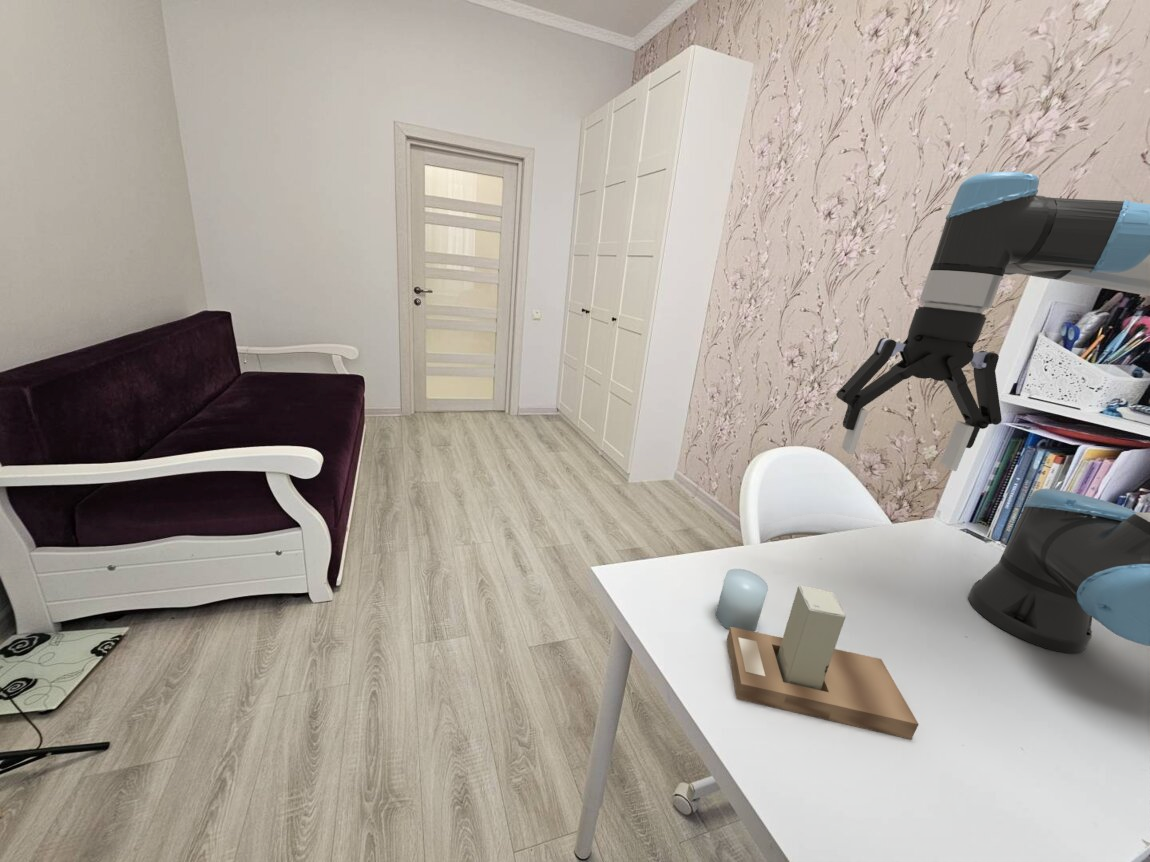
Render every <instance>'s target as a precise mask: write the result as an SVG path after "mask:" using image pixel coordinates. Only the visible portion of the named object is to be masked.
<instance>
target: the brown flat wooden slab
mask: <svg viewBox="0 0 1150 862" xmlns="http://www.w3.org/2000/svg"><path fill="white" fill-rule="evenodd" d="M782 639H783V637H782V636H781V637H780V636H775V635H771V634H766V633H762V632H759V631H758V632H756V631H754V632H753V631H748V630H744V629H739V628H734V627H730V629H729V630H728V633H727V637H726V645H727V646H726V647H727V650H728V651H727V652H728V655H729V663H730V667H731V674H732V679H733V683H734V684H733V685H734V691H735V696H736V699H737V700H741V701H745V702H750V703H754V704H758V705H763V706H767V707H771V708H776V709H779V710H784V711H788V712H792V713H797V714H801V715H805V716H810V717H813V718H818V719H822V720H827V721H831V722H835V723H841V724H844V725H848V726H852V727H857V728H861V729H867V730H870V731H875V732H877V733H878V732H879V733H883V734H887V735H892V736H896V737H901V738H904V739H908V740H913V737H914V735H915V733H916V731H917V728H918V727H919V726H920V725H919V723H918V720H917V719H916V717H915V715H914V714H913V711H912V710H911V708H910V707H909V704H908V703H907V701H906V700H905V698H904V696H903V694H902V693H901V691H900V689H899V687H898V685H897V684H896V682H895V680H894V679H893V677H892V675H891V673H890V672H889V670H888V668H887V666H886V665H885V663H884V661H883V659H882V658H878V657H875V656H870V655H865V654H860V653H855V652H851V651H846V650H842V649H836V648H835V649H834V652H833V655H832V658H831V661H830V664H829V667H828V670H827V673H826V676H825V679H824V682H823V685H822V688H821V690H816V689H812V688H807V687H803V686H798V685H794V684H790V683H785V682H783V680H782V677H781V673H780V670H779V666H778V663H777V660H776V659H777V656H778V653H779V649H780V646H781V642H782Z"/></svg>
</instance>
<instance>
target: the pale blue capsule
mask: <svg viewBox="0 0 1150 862" xmlns="http://www.w3.org/2000/svg"><path fill="white" fill-rule="evenodd" d="M768 591H769V585H768V582H767V581H766V580H765V579H764V578H763V577H762V576H760V575H758V574H757V573H755V572H753V571H751V570H747V569H744V568H731V569H729V570H727V572H726V573H725V577H724V579H723V584H722V588H721V591H720V595H719V600H718V603H717V605H716V606H717V607H716V610H715V618H716V620H717V622H719V624H720V625H721V626H722V627H724V628H725V629H727V630H728V631H729V629H730V627H734V628H739V629H744V630H748V631H753V632H756V630H757V627H758V624H759V620H760V617H761V614H762V610H763V607H764V604H765V602H766V601H765V600H766V598H767V595H768Z"/></svg>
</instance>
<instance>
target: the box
mask: <svg viewBox="0 0 1150 862" xmlns="http://www.w3.org/2000/svg"><path fill="white" fill-rule="evenodd" d="M793 599H794V600H793V603H792V606H791V609H790V612H789V616H788V619H787V622H786V625H785V629H784V633H783V636H782V638H783V639H782V642H781V646H780V649H779V653H778V656H777V659H776V660H777V663H778V666H779V670H780V673H781V677H782V680H783V682H785V683H790V684H794V685H798V686H803V687H807V688H812V689H816V690H821V688H822V685H823V682H824V679H825V676H826V673H827V670H828V667H829V664H830V661H831V658H832V655H833V652H834V649H836V646H837V644H838V641H839V638H840V635H841V631H842V628H843V626H844V622H845V620H846V613H845V612H844V610H843V608H842V606H841V603H839V600H838V599H837V597H836V595H835V594H834V592H833V591H831V590H829V591H828V590H824V589H819V588H814V587H809V586H805V585H800V584H799V585H798V586H797V590H796V592H795V595H794V598H793Z"/></svg>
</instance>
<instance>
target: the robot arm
mask: <svg viewBox="0 0 1150 862" xmlns="http://www.w3.org/2000/svg"><path fill="white" fill-rule="evenodd" d="M1039 184H1040V178H1039V177H1038V176H1037V175H1035V174H1033V173H1024V172H1023V171H1022V172H1021V171H993V172H984V173H979V174H975V175H973V176H970V177H969V178H967V179H965V180H964V181H963V182H962V183H961V184H960V185H959V187H958V190H957V192H956V194H955V196H954V199H953V201H952V204H951V206H950V209H949V211H948V213H947V214H946V217H945V223H944V226H943V229H942V231H941V235H940V239H939V241H938V243H937V248H936V251H935V254H934V257H933V261H932V264H931V266H930V270H929V271H928V274H927V276H926V280H925V282H924V286H923V287H922V292H921V294H920V297H919V301H920V302H921V303H923V304H922V306H918V307H917V308H915V312H914V314H913V318H912V320H911V323H910V326H909V328H908V332H907V337H906V339H905V340H904V341H903V342H898V341H896V340H894V339H891V338H888V337H882V338H880V339H879V341H878V343H877V345H876V347H875V349H874V351H873V353H872V354H871V355H870V356H869V358H867V359H866V361H864V362H863V364H862V365H861V366H860V367H859V368H858V369H857V370H856V371H855V372H854V374H853V375H852V376H851V377H850V378H849V379H848V380H847V381H846V382H845V383H844V385H842V387H841V388H840V389H839V390H838V391H837V392H836V394H835V395H836V397H837V399H839V400H840V401H842V402H843V403H844V404H847V408H846V411H845V413H844V417H843V420H842V427H843V428H844V429H846V432H845V435H844V438H843V441H842V445H841V449H843V450H844V452H846V453H847V454H848V455H855V452H856V450H857V449H856V448H857V446H858V443H859V439H860V437H861V434H862V430H863V427H864V425H865V421H866V418H867V415H868V412H869V410H866V409H865V408H864V407H865V406H867V405H868V404H870V403H871V402H873V401H875V400H876V399H877V398H879V397H881V395H883V394H885V393H886V392H888V391H889V390H891V389H892V388H894V387H895V386H896V385H898V384H899V383H901V382H903V381H905V380H907V379H910V378H911V377H915V378H918V379H923V380H925V379H931V380H934V381H937V382H944V383H945V384H946V386H947V388H948V389H949V391H950V393H951V395H952V397H953V399H954V401H955V403H956V406H957V407H958V409H959V412H960V413H961V416H962V418H963V420H964V421H962V420H956V421H955V423H954V427H953V429H952V431H951V435H950V437H949V440H948V442H947V444H946V447H945V449H944V452H943V454H942V457H941V460H940V462H939V464H940V465H942V466H943V467H945V468H946V469H948V470H949V471H953V472H957V470H958V468H959V465H960V463H961V460H962V458H963V456H964V453H965V451H966V449H971V448H972V447H973V446H974V443H975V441H976V439H977V436H978V434H979V432H980V429H982V430H984V429H987V428H988V427H989V425H995V426H996V425H999V424H1001V423H1002V412H1001V411H1002V410H1001V405H1000V396H999V390H998V389H999V388H998V381H997V376H996V369H997V365H998V362H999V358H1000V356H999V354H997V353H994V352H990V351H987V350H980V351H977V352H976V351H974V346H975V344H976V343H977V342H978V340H979V338H980V336H981V333H982V330H983V328H984V325H985V323H986V320H987V316H986V314H983V313H984V310H989V309H991V308H992V306H993V303H994V300H995V298H996V295H997V291H998V290H999V287H1000V283H1001V281H1002V278H1003V276H1004V275H1010V276H1011V275H1017V274H1018V275H1025V276H1030V277H1035V278H1043V279H1049V280H1056V281H1063V282H1068V283H1074V284H1080V285H1083V286H1091V287H1097V288H1101V289H1102V288H1103V289H1108V290H1112V291H1113V290H1114V291H1120V292H1125V293H1130V294H1137V295H1141V296H1142V295H1143V296H1146V297H1147V296H1149V297H1150V203H1144V202H1135V201H1129V199H1123V200H1104V199H1085V198H1082V199H1081V198H1067V197H1066V198H1065V197H1064V198H1062V197H1060V198H1059V197H1049V196H1048V197H1047V196H1045V195H1038V193H1039V192H1038V191H1039V190H1038V188H1039ZM898 353H899V354H900V357H901V360H900V361H898V362H897V363H895V364H894V365H892V366H891V367H890V369H889V370H887V371H886V372H885V373H883V374H882V375H881V376H879V377H878V378H876V379H875V380H874V381H872V382H871V383H869V382H870V381H871V380H872V378H873V377H875V376H876V375H877V373H879V371H880V370H881V369H882V368H883V367H884V366H885V365H886V363H888V362H889V360H890V359H891V358H892V357H894V356H895V355H897V354H898ZM968 364H970V365H971V367H972V368H973V370H972V371H973V378H974V385H975V391H976V392H975V393H976V397H977V401H976V400H975V398H974V395H973V394H972V391H971V389H970V387H969V386H968V384H967V383H968V379H967V377H966V375H965V373H964V371H963V369H964V367H966V366H967V365H968ZM868 383H869V384H868ZM867 384H868V385H867ZM968 600H969V601H968V602H969V603H970V605H971V606H972V607H973V608H974V609H975V611H977V612H978V613H979V614H980V615H981V616H982V617H984V618H985V619H986V620H987V621H989V622H990V623H992V624H993V625H995V626H996V627H997V628H1000V629H1001V630H1003V631H1005V632H1007V633H1008V634H1011V635H1013V636H1014V637H1016V638H1019V639H1020V640H1023V641H1026V642H1027V643H1031V644H1033V645H1036V646H1038V647H1042V648H1044V649H1048V650H1051V651H1056V652H1060V653H1065V654H1066V653H1069V654H1076V653H1077V654H1078V653H1081V652H1084V651H1085V650H1086V649H1087V646H1088V645H1089V643H1090V641H1091V639H1092V634H1093V631H1092V629H1091V628H1092V623H1093V619H1094V620H1096V622H1098V623H1100V624H1101V625H1102V626H1103V627H1105V628H1106V629H1107V630H1109V631H1110V632H1111V633H1112V634H1114V635H1117V636H1118V637H1121V638H1123V639H1124V640H1127V641H1130V642H1133V643H1136V644H1139V645H1143V646H1148V647H1150V512H1139V511H1138V512H1136V511H1135V510H1133V509H1131V508H1129V507H1126V506H1122V505H1120V504H1116V503H1114V502H1110V501H1106V500H1103V499H1099V498H1095V497H1092V496H1088V495H1084V494H1079V493H1076V492H1075V493H1074V492H1072V491H1071V492H1069V491H1066V490H1062V489H1061V490H1059V489H1053V488H1041V489H1037V490H1035V491H1033V492H1032V494H1031V496H1030V497H1029V498H1028V500H1027V501H1026V502H1025V504H1024V505H1023V510H1022V512H1021V513H1020V516H1019V519H1018V521H1017V522H1016V525H1015V527H1014V529H1013V531H1012V533H1011V535H1010V538H1009V540H1008V542H1007V544H1006V546H1005V548H1004V550H1003V553H1002V555H1001V557H1000V559H999V561H998V562H997V564H996V565H994V566H993V567H992V568H991V569H990V570H989V571H988V572H986V574H985V575H984V576H982V578H981V579H979V580H976V581H975V582H974V583H973V585H972V587H971V589H970V591H969V594H968Z"/></svg>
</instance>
